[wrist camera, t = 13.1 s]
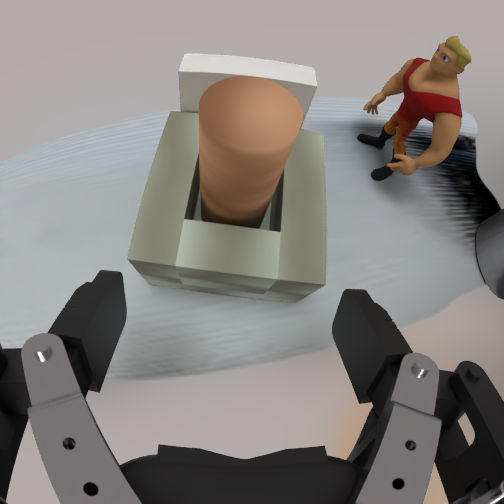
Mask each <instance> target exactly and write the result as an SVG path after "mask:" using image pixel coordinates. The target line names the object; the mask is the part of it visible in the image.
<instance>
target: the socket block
mask: <svg viewBox="0 0 504 504" xmlns="http://www.w3.org/2000/svg"><path fill="white" fill-rule="evenodd" d="M127 259H128V260H129V262H130V263H131V264H132V265H133V266H134V268H135V269H136V270H137V271H138V272H139V273H140V275H141V276H142V277H143V278H144V279H145V280H146V282H147V283H148V284H150V285H156V286H163V287H169V288H176V289H183V290H190V291H197V292H205V293H212V294H220V295H228V296H236V297H244V298H253V299H262V300H271V301H280V302H290V303H296V302H298V301H300V300H301V299H303V298H305V297H306V296H308V295H310V294H311V293H313V292H315V291H316V290H318V289H319V288H321V287H323V286H324V285H326V185H325V159H324V140H323V134H322V133H318V132H313V131H309V130H304V129H300V130H299V132H298V135H297V137H296V140H295V142H294V145H293V147H292V150H291V152H290V155H289V157H288V160H287V162H286V165H285V167H284V169H283V172H282V174H281V177H280V179H279V182H278V184H277V187H276V189H275V192H274V194H273V197H272V199H271V202H270V204H269V207H268V209H267V212H266V214H265V217H264V219H263V222H262V224H261V226H260V229H255V228H248V227H240V226H233V225H226V224H218V223H211V222H203V221H202V220H201V199H200V169H199V113H188V112H175V111H171V112H170V114H169V117H168V120H167V122H166V125H165V128H164V131H163V134H162V137H161V139H160V142H159V145H158V148H157V151H156V154H155V157H154V161H153V164H152V167H151V170H150V173H149V177H148V180H147V183H146V187H145V190H144V194H143V197H142V201H141V205H140V208H139V212H138V216H137V220H136V224H135V228H134V232H133V236H132V240H131V244H130V249H129V253H128V258H127Z"/></svg>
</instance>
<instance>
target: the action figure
mask: <svg viewBox="0 0 504 504" xmlns="http://www.w3.org/2000/svg"><path fill="white" fill-rule="evenodd" d="M470 62H471V57H470V54H469V52H468V50H466V48H465V47H464V46H463V45H462V44H461V43H460V42H459V38H458V36H453V37H450V38H448V39H447V40H446V42H445V43H442V44H439V47H438V49H437V51H436V52H435V54H434V55H433V58H432V60H431V61H429V60H425V59H422V58H416V59H411V60H409V61H407V62H406V63H405V64H404V66H403V67H402V68H401V70H400V71H399V72H398V73H396V74H395V75H394V76H392V77H391V79H390V80H389V81H388V82H387V83H386V85H385V86H384V88H383V89H382V91H381V93H378V94H377V95H375V96H374V97H373V99H372V100H371V101H369V102H368V103H367V104H366V105H365V106H364V108H363V110H367V113H370V111H371V108H372V111H371V112H372V114H373V115H374V108H375V112H376V114H378V110H377V105H378V104H380V103H381V102H383V101H384V100H385V99H386V96H390V95H395V94H399V93H402V92H403V93H404V99H403V102H402V103H401V105H400V108H399V109H398V111H397V112H396V113H395V114H394V115H393V116H392V117H391V119H390V120H389V121H388V122H386V124H385V125H384V127H383V130H382V134H381V135H380V137H378V138H377V137H373V136H369V135H365V134H359V135H358V139H359V140H361V141H363V142H367V143H372V144H374V145H376V146H377V147H379V148H383V147H384V145H385V141H386V140H388V139H389V138H391V137H392V136H394V135H395V134H396V136H395V139H394V143H393V144H394V149H393V158H392V160H391V162H390V163H388V164H387V165H386V166H385V167H382V168H378V169H375V170H373V172H372V173H371V175H372V177H373V178H374V179H375V180H383V179H385V178H387V177H388V176H390V175H391V174H392V173H393V172H394V171H397V172H399V173H402V174H403V175H410V174H412V173H413V172H414V171H416V170H417V168H418V167H430V166H434V165H436V164H438V163H440V162H442V161H443V160H444V159H445V158H446V157H447V156H448V155H449V154H450V152H451V150H452V147H453V145H454V143H455V141H456V139H457V136H458V134H459V131H460V128H461V118H462V111H461V104H460V100H459V85H458V80H457V74H460V73H462V72H463V71H464V67H465V66H466V65H467V64H469V63H470ZM367 108H368V109H367ZM423 118H425V119H427V120H429V121H431V122H432V123H433V133H432V144H431V145H430V146H429V148H428V149H427V150H426V151H425V152H424V153H423V154H422V155H421V156H419V157H418V158H416V159H412V158H410V157H408V156H406V148H405V145H404V144H403V142H404V141H405V139H406V138H407V137H408V135H409V134H410V133H411V132H412V130H414V129H415V128H416V126H417V125H418V123H419V121H420V120H421V119H423ZM398 125H399V126H398ZM397 126H398V129H397ZM396 129H397V132H396Z"/></svg>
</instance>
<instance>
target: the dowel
mask: <svg viewBox="0 0 504 504" xmlns="http://www.w3.org/2000/svg"><path fill="white" fill-rule="evenodd" d="M302 122H303V111H302V108H301V105H300V103H299V102H298V100H297V99H296V98H295V96H294V95H293V94H292V93H291V92H290V91H288V90H287V89H286V88H284V87H283V86H281V85H279V84H277V83H275V82H273V81H270V80H267V79H264V78H259V77H253V76H237V77H230V78H226V79H223V80H221V81H218V82H216V83H214V84H213V85H211V86H210V87H209V88H208V89H207V90H206V91H205V92H204V93H203V94H202V96H201V98H200V101H199V169H200V199H201V220H202V221H203V222H211V223H218V224H226V225H233V226H240V227H248V228H255V229H260V226H261V224H262V222H263V219H264V217H265V214H266V212H267V209H268V207H269V204H270V202H271V199H272V197H273V194H274V192H275V189H276V187H277V184H278V182H279V179H280V177H281V174H282V172H283V169H284V167H285V165H286V162H287V160H288V157H289V155H290V152H291V150H292V147H293V145H294V142H295V140H296V137H297V135H298V132H299V130H300V127H301V125H302Z"/></svg>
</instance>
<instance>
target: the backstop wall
mask: <svg viewBox="0 0 504 504" xmlns="http://www.w3.org/2000/svg"><path fill="white" fill-rule="evenodd" d="M178 73H179V90H180V106H181V112H188V113H199V101H200V98H201V96H202V94H203V93H204V92H205V91H206V90H207V89H208V88H209V87H210V86H211V85H213V84H214V83H216V82H218V81H221V80H223V79H226V78H230V77H237V76H253V77H259V78H264V79H267V80H270V81H273V82H275V83H277V84H279V85H281V86H283V87H284V88H286V89H287V90H288V91H290V92H291V93H292V94H293V95H294V96H295V98H296V99H297V100H298V102H299V103H300V105H301V108H302V111H303V121H304V119H305V116H306V114H307V111H308V109H309V106H310V104H311V101H312V99H313V97H314V94H315V91H316V89H317V82H316V76H315V71H314V68H312V67H307V66H302V65H296V64H291V63H284V62H279V61H272V60H265V59H257V58H248V57H239V56H227V55H212V54H185V55H184V57H183V60H182V63H181V66H180V68H179V71H178ZM302 124H303V122H302ZM301 126H302V125H301ZM300 129H301V127H300Z"/></svg>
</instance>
